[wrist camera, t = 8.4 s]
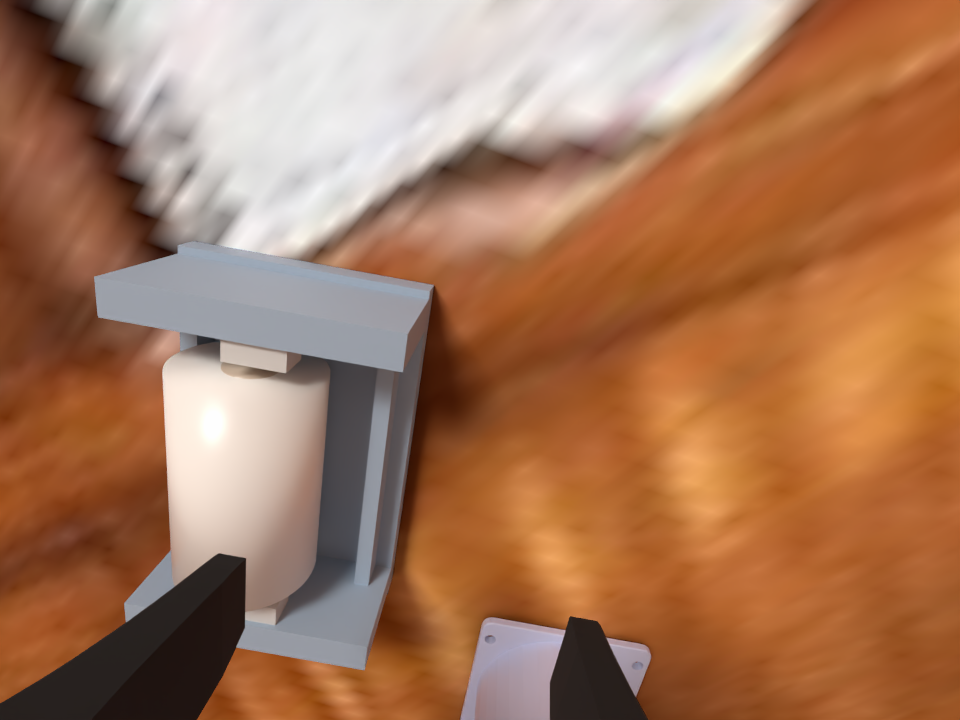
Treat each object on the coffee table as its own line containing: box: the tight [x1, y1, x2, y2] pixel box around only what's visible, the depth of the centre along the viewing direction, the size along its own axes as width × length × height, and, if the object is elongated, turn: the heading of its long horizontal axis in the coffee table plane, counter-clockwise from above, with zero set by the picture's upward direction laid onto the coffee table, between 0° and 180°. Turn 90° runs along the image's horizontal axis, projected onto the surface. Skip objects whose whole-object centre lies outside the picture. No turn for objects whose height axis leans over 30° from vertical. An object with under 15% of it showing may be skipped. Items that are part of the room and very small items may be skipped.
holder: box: [94, 241, 434, 670], centre depth 20 cm, size 14×9×5 cm, turn 170°
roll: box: [163, 341, 330, 612], centre depth 19 cm, size 8×5×5 cm, turn 170°
